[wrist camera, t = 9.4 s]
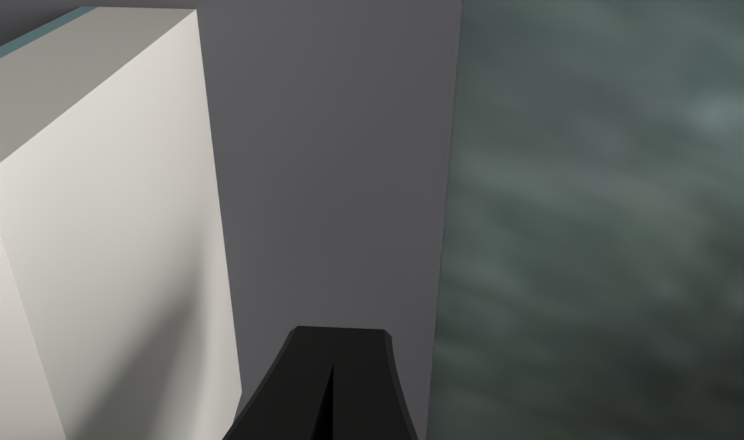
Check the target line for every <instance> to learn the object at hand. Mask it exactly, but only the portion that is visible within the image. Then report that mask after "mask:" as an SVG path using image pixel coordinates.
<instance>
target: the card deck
mask: <svg viewBox="0 0 744 440" xmlns="http://www.w3.org/2000/svg"><path fill="white" fill-rule="evenodd" d="M241 393H242V388H241V380H240V371H239V363H238V355H237V346H236V338H235V330H234V321H233V313H232V304H231V296H230V288H229V279H228V271H227V263H226V254H225V246H224V237H223V229H222V221H221V212H220V204H219V196H218V187H217V179H216V171H215V162H214V154H213V145H212V137H211V129H210V120H209V112H208V104H207V95H206V87H205V78H204V70H203V62H202V53H201V45H200V37H199V28H198V20H197V12H196V9H170V8H129V7H88V6H81V7H79V8H77V9H75V10H73V11H71V12H69V13H67V14H65V15H63V16H61V17H59V18H57V19H55V20H53V21H51V22H49V23H47V24H45V25H43V26H41V27H39V28H37V29H35V30H33V31H31V32H29V33H27V34H25V35H23V36H21V37H19V38H17V39H14V40H12V41H10V42H8V43H6V44H4V45H2V46H0V440H222V439H223V437H224V436H225V434H226V433H227V431H228V430H229V429H230V427H231V426H232V424H233V420H234V417H235V414H236V410H237V407H238V403H239V400H240V397H241Z"/></svg>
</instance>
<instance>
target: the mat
mask: <svg viewBox="0 0 744 440" xmlns="http://www.w3.org/2000/svg"><path fill="white" fill-rule="evenodd" d="M462 3H463V0H0V46H2V45H4V44H6V43H8V42H10V41H12V40H14V39H17V38H19V37H21V36H23V35H25V34H27V33H29V32H31V31H33V30H35V29H37V28H39V27H41V26H43V25H45V24H47V23H49V22H51V21H53V20H55V19H57V18H59V17H61V16H63V15H65V14H67V13H69V12H71V11H73V10H75V9H77V8H79V7H81V6H88V7H129V8H170V9H196V12H197V20H198V28H199V37H200V45H201V53H202V62H203V70H204V78H205V87H206V95H207V104H208V112H209V120H210V129H211V137H212V145H213V154H214V162H215V171H216V179H217V187H218V196H219V204H220V212H221V221H222V229H223V237H224V246H225V254H226V263H227V271H228V279H229V288H230V296H231V304H232V313H233V321H234V330H235V338H236V346H237V355H238V363H239V371H240V380H241V388H242V393H241V397H240V400H239V403H238V407H237V410H236V414H235V417H234V420H233V423H234V421H235V420H236V419H237V417H238V416H239V414H240V413H241V411H242V410H243V409H244V407H245V406H246V404H247V403H248V401H249V400H250V398H251V397H252V395H253V394H254V392H255V391H256V389H257V387H258V386H259V384H260V383H261V381H262V380H263V378H264V377H265V375H266V373H267V372H268V370H269V368H270V367H271V365H272V363H273V362H274V360H275V358H276V357H277V355H278V353H279V351H280V349H281V348H282V346H283V344H284V342H285V340H286V338H287V336H288V334H289V332H290V331H291V330H293V329H294V328H295V327H296V326H317V327H340V328H364V329H385V330H386V331H387V332H388V333H389V334H390V335H391V336H392V346H393V353H394V359H395V364H396V369H397V373H398V377H399V381H400V384H401V388H402V391H403V395H404V398H405V402H406V405H407V408H408V411H409V414H410V417H411V420H412V423H413V426H414V428H415V431H416V434H417V436H418V439H419V440H426V434H427V422H428V410H429V398H430V386H431V374H432V362H433V350H434V338H435V326H436V314H437V302H438V290H439V278H440V266H441V254H442V242H443V230H444V218H445V206H446V194H447V182H448V170H449V158H450V146H451V134H452V123H453V111H454V99H455V87H456V75H457V63H458V51H459V39H460V27H461V15H462Z"/></svg>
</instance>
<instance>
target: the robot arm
mask: <svg viewBox="0 0 744 440" xmlns="http://www.w3.org/2000/svg"><path fill="white" fill-rule="evenodd" d="M222 440H419V439H418V436H417V434H416V431H415V428H414V426H413V423H412V420H411V417H410V414H409V411H408V408H407V405H406V402H405V398H404V395H403V391H402V388H401V384H400V381H399V377H398V373H397V369H396V364H395V359H394V353H393V346H392V336H391V335H390V334H389V333H388V332H387V331H386V330H385V329H364V328H340V327H317V326H296V327H295V328H294V329H293V330H291V331H290V332H289V334H288V336H287V338H286V340H285V342H284V344H283V346H282V348H281V349H280V351H279V353H278V355H277V357H276V358H275V360H274V362H273V363H272V365H271V367H270V368H269V370H268V372H267V373H266V375H265V377H264V378H263V380H262V381H261V383H260V384H259V386H258V387H257V389H256V391H255V392H254V394H253V395H252V397H251V398H250V400H249V401H248V403H247V404H246V406H245V407H244V409H243V410H242V411H241V413H240V414H239V416H238V417H237V419H236V420H235V421H234V423H233V424H232V426H231V427H230V429H229V430H228V431H227V433H226V434H225V436H224V437H223V439H222Z"/></svg>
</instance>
